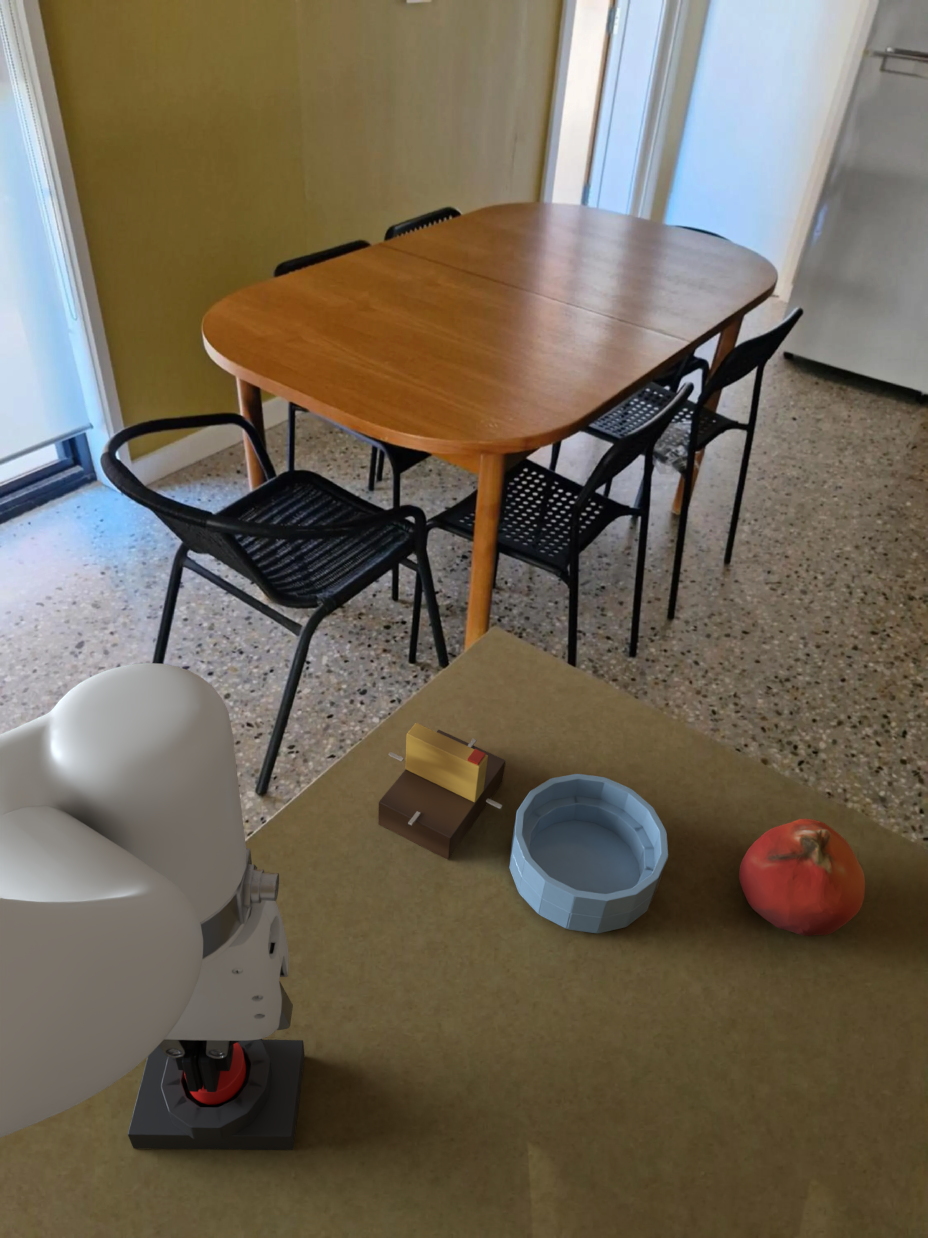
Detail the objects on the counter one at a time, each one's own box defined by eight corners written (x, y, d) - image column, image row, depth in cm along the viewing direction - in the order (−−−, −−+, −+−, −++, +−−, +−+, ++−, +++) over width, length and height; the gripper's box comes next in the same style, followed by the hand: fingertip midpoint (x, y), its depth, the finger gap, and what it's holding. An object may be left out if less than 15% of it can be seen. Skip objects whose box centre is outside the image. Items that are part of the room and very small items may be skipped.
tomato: (857, 890, 75) (892, 831, 70) (833, 977, 68) (870, 919, 63) (749, 840, 78) (775, 780, 73) (717, 919, 72) (743, 859, 66)
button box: (132, 1153, 56) (120, 1127, 53) (158, 1049, 61) (149, 1020, 58) (292, 1155, 56) (289, 1129, 54) (305, 1051, 61) (302, 1023, 59)
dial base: (466, 877, 73) (469, 853, 71) (353, 818, 77) (353, 795, 75) (526, 787, 81) (530, 764, 79) (421, 738, 85) (422, 715, 83)
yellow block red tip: (404, 769, 78) (406, 731, 75) (414, 757, 79) (416, 720, 76) (475, 803, 75) (479, 765, 72) (483, 790, 76) (488, 753, 73)
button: (181, 1105, 55) (177, 1092, 54) (194, 1046, 57) (191, 1033, 56) (240, 1106, 55) (238, 1093, 54) (250, 1047, 58) (248, 1034, 57)
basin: (623, 963, 68) (636, 927, 65) (483, 890, 72) (488, 853, 69) (674, 850, 76) (687, 813, 73) (546, 791, 81) (554, 754, 77)
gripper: (332, 833, 47) (336, 1011, 58) (41, 822, 46) (103, 1006, 57) (316, 965, 41) (324, 1135, 52) (-19, 956, 40) (63, 1131, 51)
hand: (208, 1067), depth 55 cm, fingers closed
